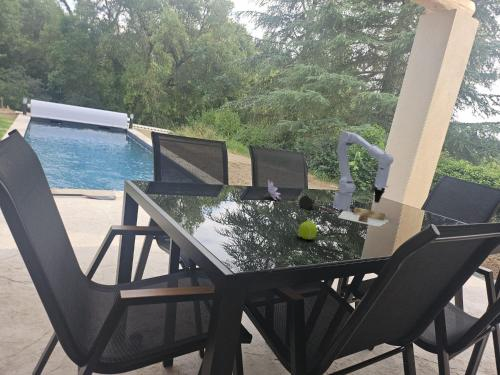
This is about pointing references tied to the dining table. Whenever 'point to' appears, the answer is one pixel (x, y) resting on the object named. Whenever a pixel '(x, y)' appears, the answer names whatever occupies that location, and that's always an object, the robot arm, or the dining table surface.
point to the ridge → (363, 217)
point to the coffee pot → (310, 204)
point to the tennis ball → (307, 230)
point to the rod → (370, 213)
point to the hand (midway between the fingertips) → (376, 201)
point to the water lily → (272, 191)
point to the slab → (353, 217)
